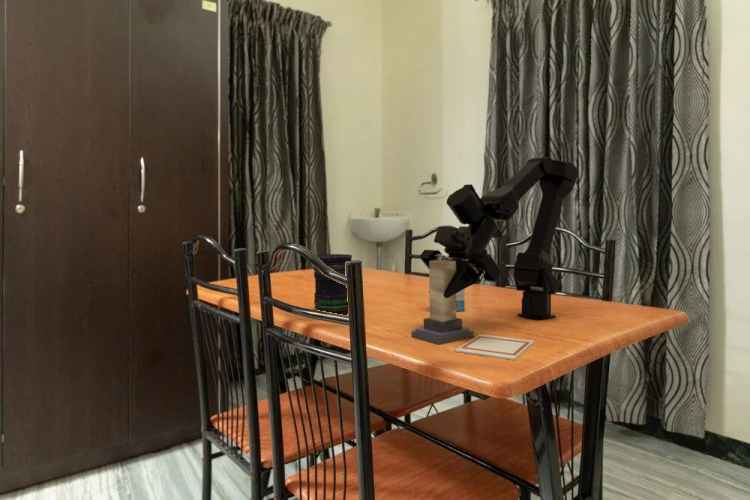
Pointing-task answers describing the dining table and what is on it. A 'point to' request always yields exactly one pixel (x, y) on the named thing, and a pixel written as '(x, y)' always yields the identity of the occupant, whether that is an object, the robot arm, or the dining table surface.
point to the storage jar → (331, 286)
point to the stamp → (442, 298)
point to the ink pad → (442, 335)
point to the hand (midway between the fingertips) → (437, 295)
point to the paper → (496, 346)
